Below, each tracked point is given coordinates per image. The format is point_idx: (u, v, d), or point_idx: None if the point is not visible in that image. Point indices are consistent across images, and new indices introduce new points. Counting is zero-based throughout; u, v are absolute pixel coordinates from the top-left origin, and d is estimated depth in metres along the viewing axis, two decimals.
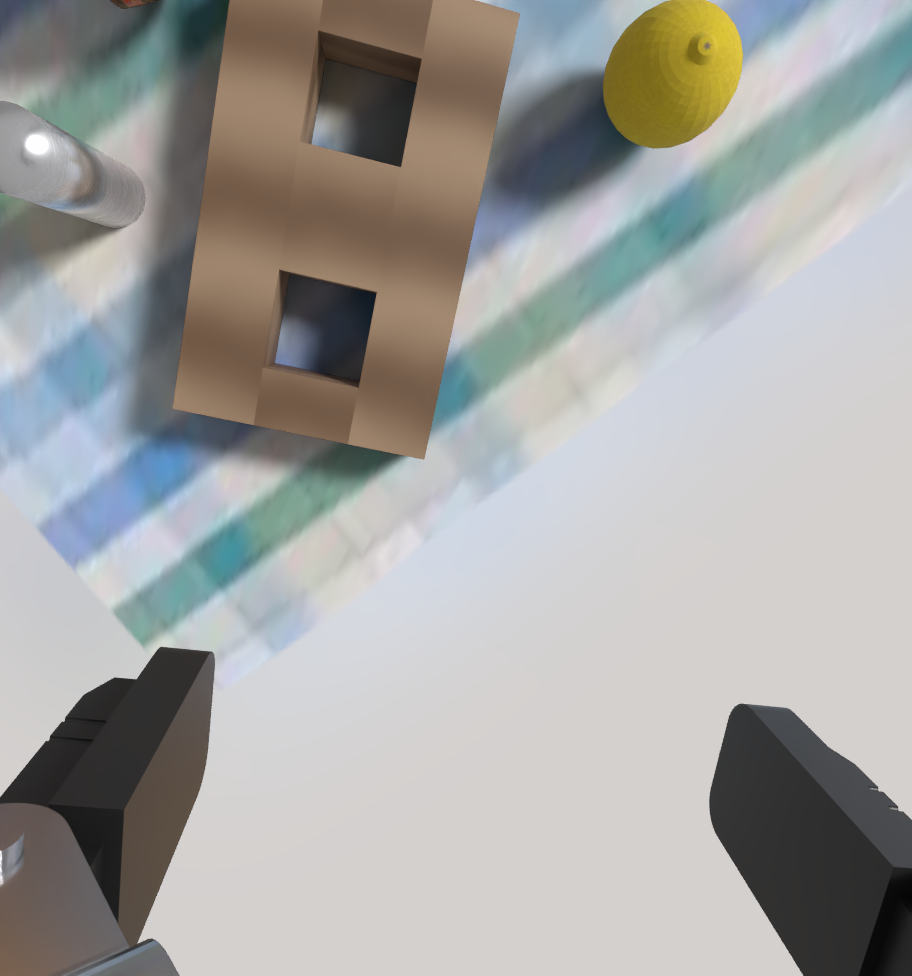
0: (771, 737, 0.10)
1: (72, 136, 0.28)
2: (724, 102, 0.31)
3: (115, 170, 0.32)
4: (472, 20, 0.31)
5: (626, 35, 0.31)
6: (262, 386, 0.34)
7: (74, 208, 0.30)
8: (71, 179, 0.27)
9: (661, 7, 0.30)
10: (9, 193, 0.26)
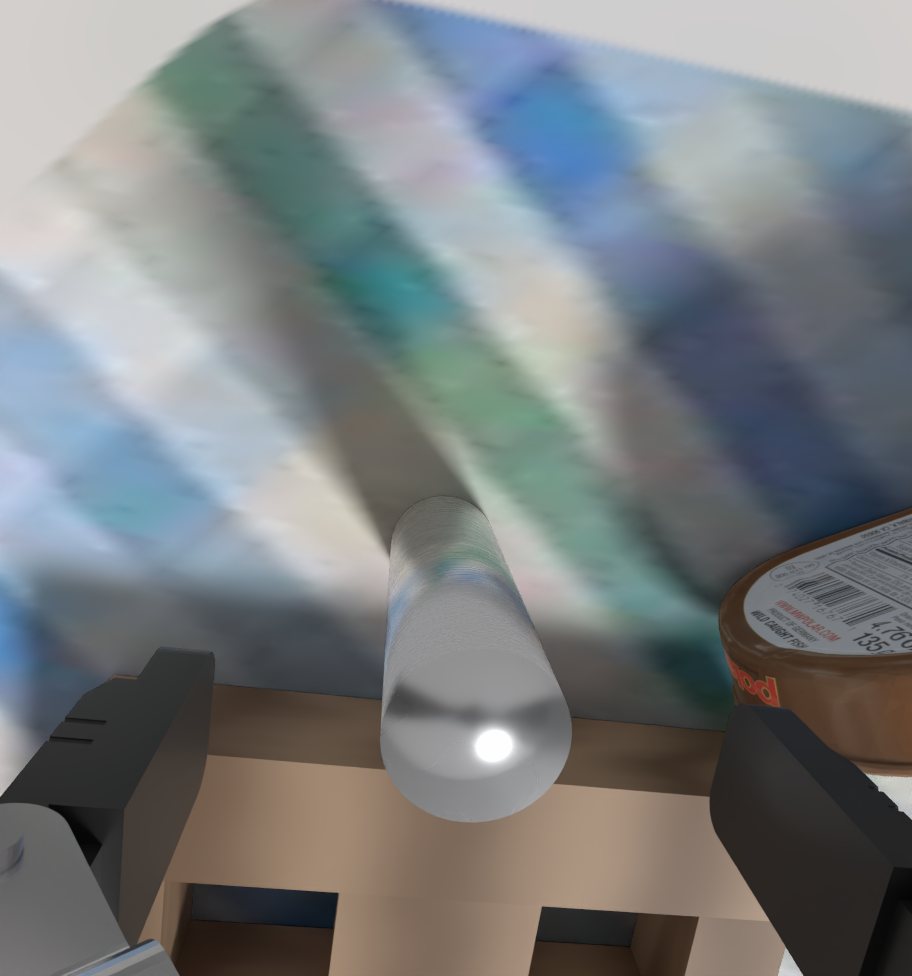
0: (771, 737, 0.10)
1: None
2: None
3: None
4: None
5: None
6: None
7: None
8: None
9: None
10: (382, 740, 0.11)
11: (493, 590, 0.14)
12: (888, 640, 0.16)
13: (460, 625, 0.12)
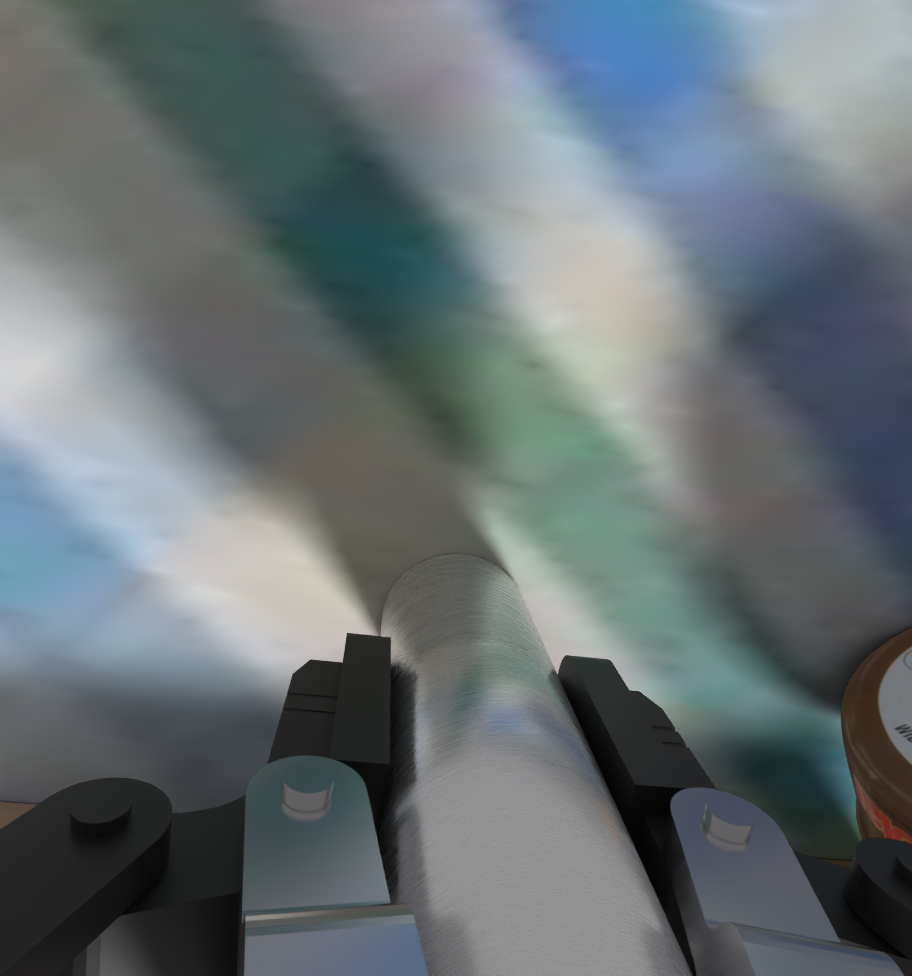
0: (580, 683, 0.11)
1: None
2: None
3: None
4: None
5: None
6: None
7: None
8: None
9: None
10: None
11: (561, 779, 0.08)
12: None
13: (519, 909, 0.06)
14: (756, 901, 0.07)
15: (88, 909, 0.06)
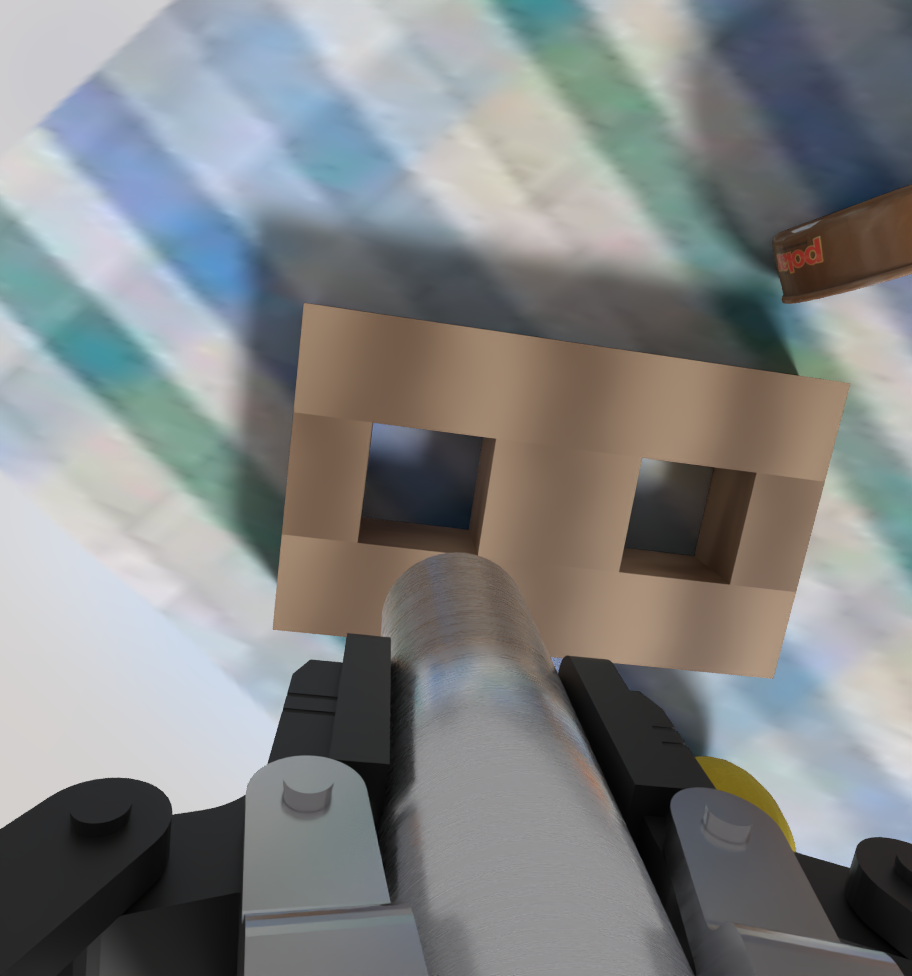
0: (581, 683, 0.11)
1: None
2: None
3: None
4: (766, 632, 0.29)
5: (759, 798, 0.29)
6: (347, 422, 0.26)
7: None
8: None
9: (789, 838, 0.28)
10: None
11: (562, 776, 0.08)
12: None
13: (520, 907, 0.06)
14: (756, 901, 0.07)
15: (88, 910, 0.06)
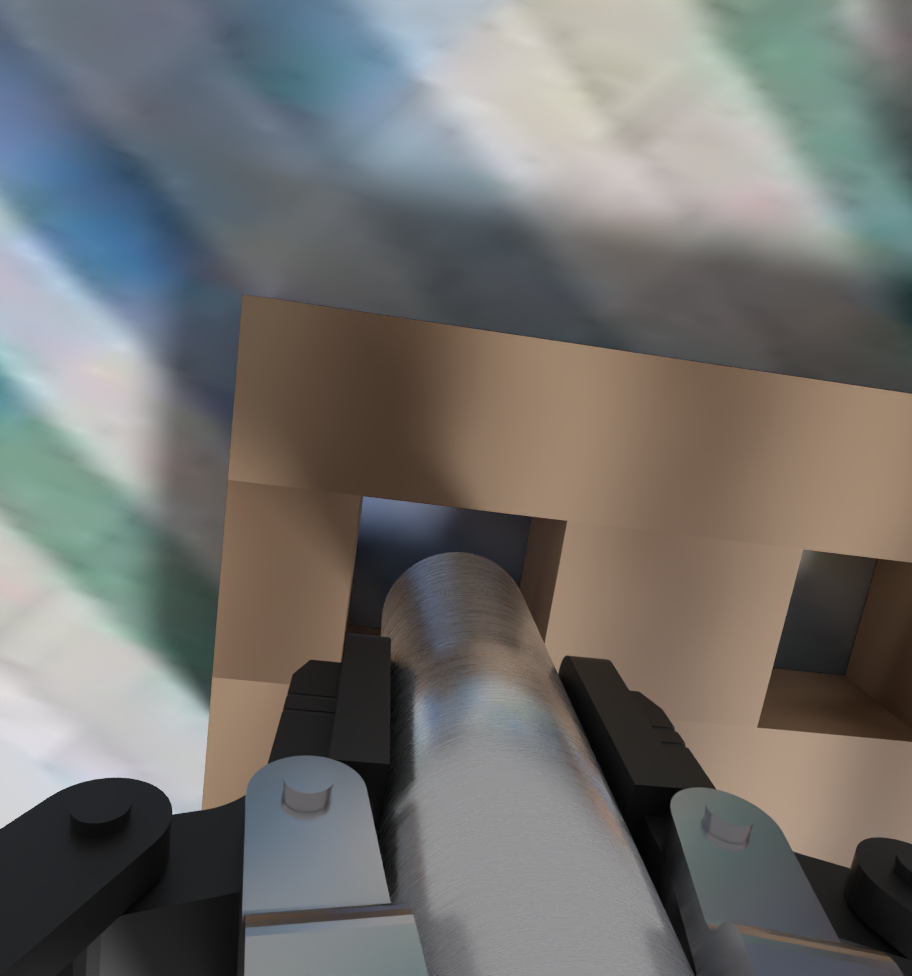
0: (580, 683, 0.11)
1: None
2: None
3: None
4: None
5: None
6: (318, 496, 0.15)
7: None
8: None
9: None
10: None
11: (562, 776, 0.08)
12: None
13: (520, 907, 0.06)
14: (756, 900, 0.07)
15: (89, 909, 0.06)
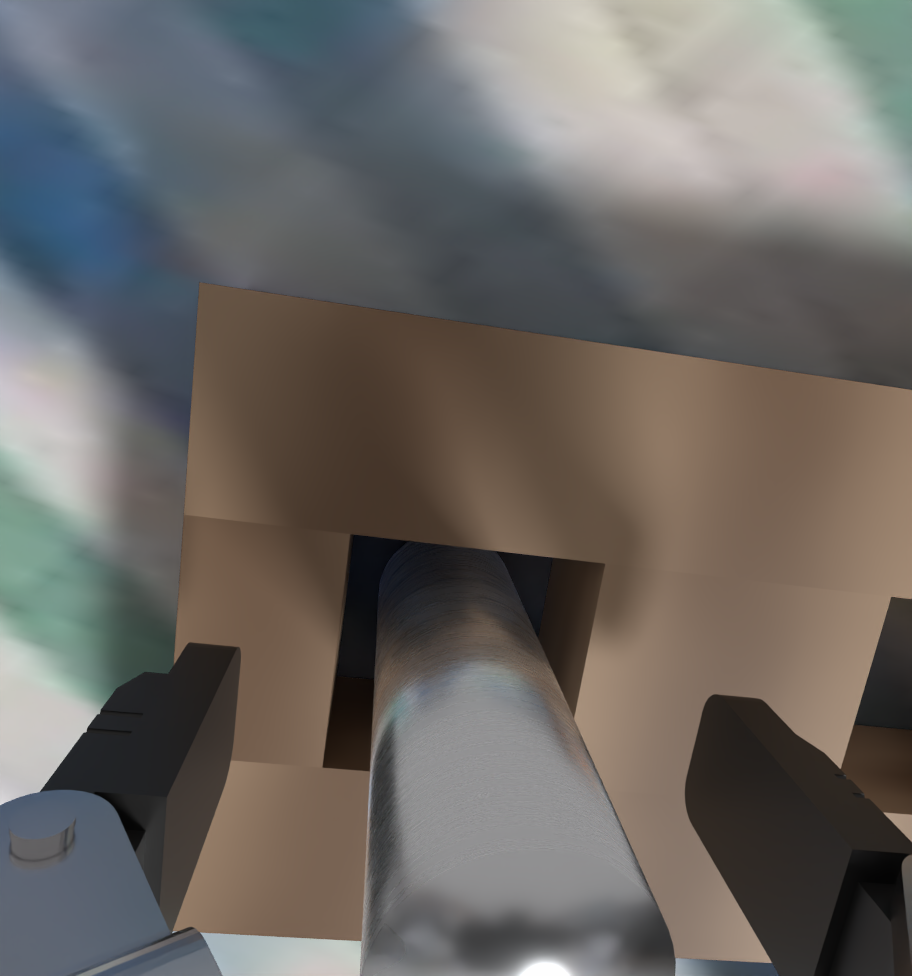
0: (742, 726, 0.10)
1: None
2: None
3: None
4: None
5: None
6: (298, 534, 0.12)
7: None
8: None
9: None
10: None
11: (530, 702, 0.09)
12: None
13: (489, 788, 0.07)
14: None
15: None
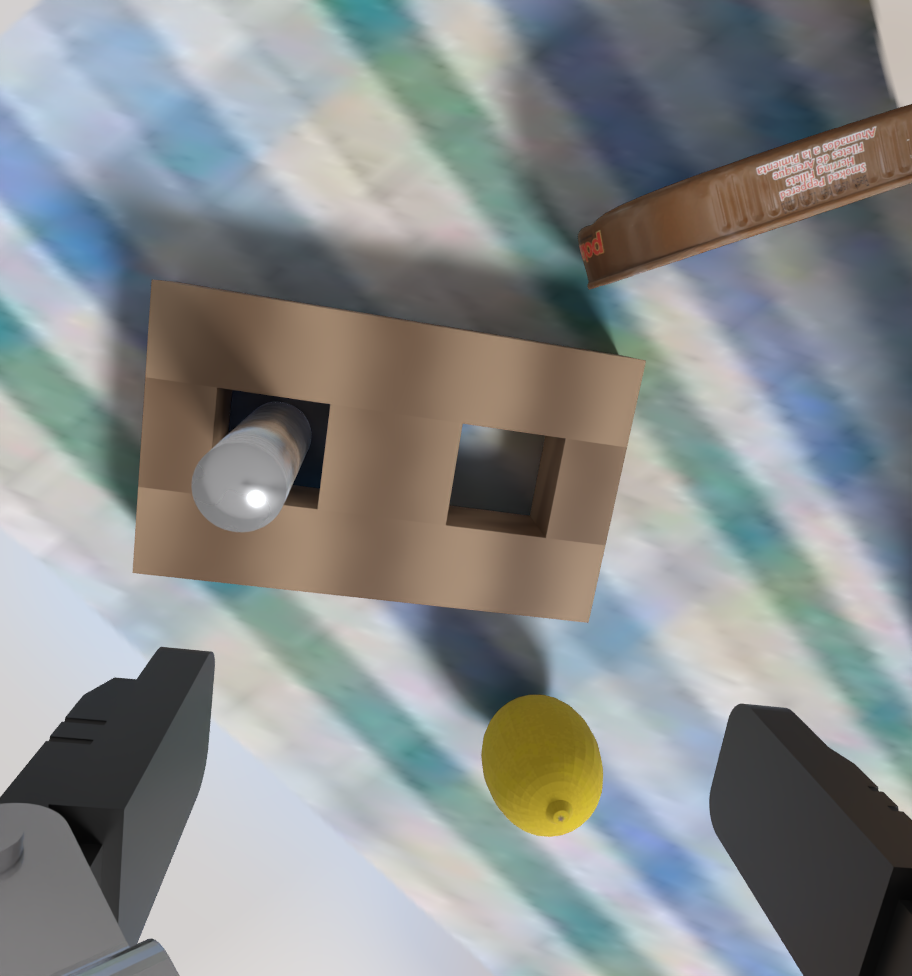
0: (771, 737, 0.10)
1: None
2: None
3: None
4: (580, 581, 0.33)
5: (571, 726, 0.33)
6: (194, 387, 0.29)
7: None
8: None
9: (593, 760, 0.32)
10: (193, 488, 0.24)
11: (267, 431, 0.26)
12: None
13: (236, 437, 0.24)
14: None
15: None
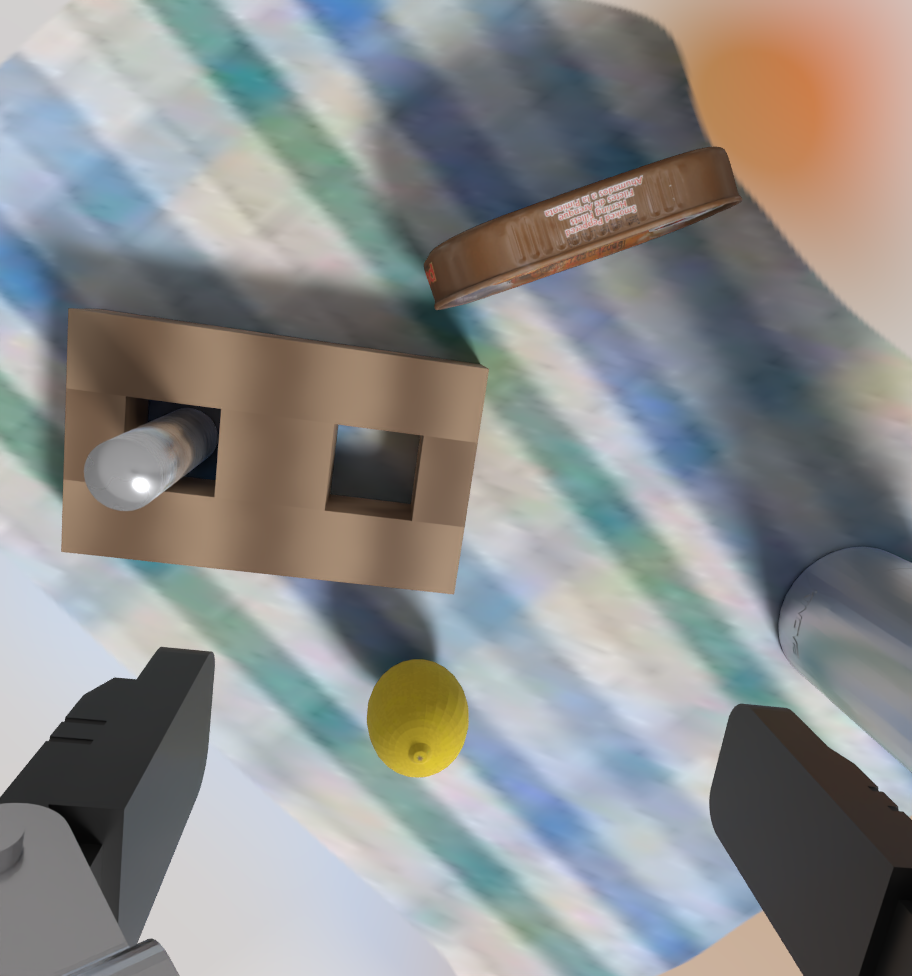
0: (771, 737, 0.10)
1: (179, 477, 0.33)
2: (392, 769, 0.38)
3: None
4: (444, 558, 0.38)
5: (438, 683, 0.38)
6: (107, 396, 0.35)
7: None
8: None
9: (454, 711, 0.38)
10: (85, 475, 0.30)
11: (155, 431, 0.32)
12: None
13: (122, 435, 0.30)
14: None
15: None
